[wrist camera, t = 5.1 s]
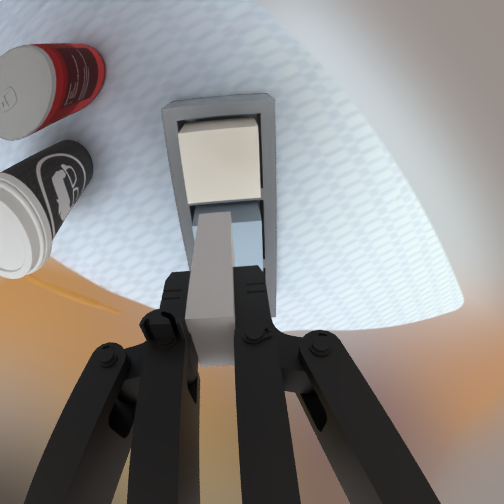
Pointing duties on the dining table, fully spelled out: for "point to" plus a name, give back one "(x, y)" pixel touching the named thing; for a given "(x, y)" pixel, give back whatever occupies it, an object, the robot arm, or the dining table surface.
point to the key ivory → (220, 159)
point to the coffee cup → (38, 204)
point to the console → (265, 119)
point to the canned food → (46, 85)
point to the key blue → (240, 229)
